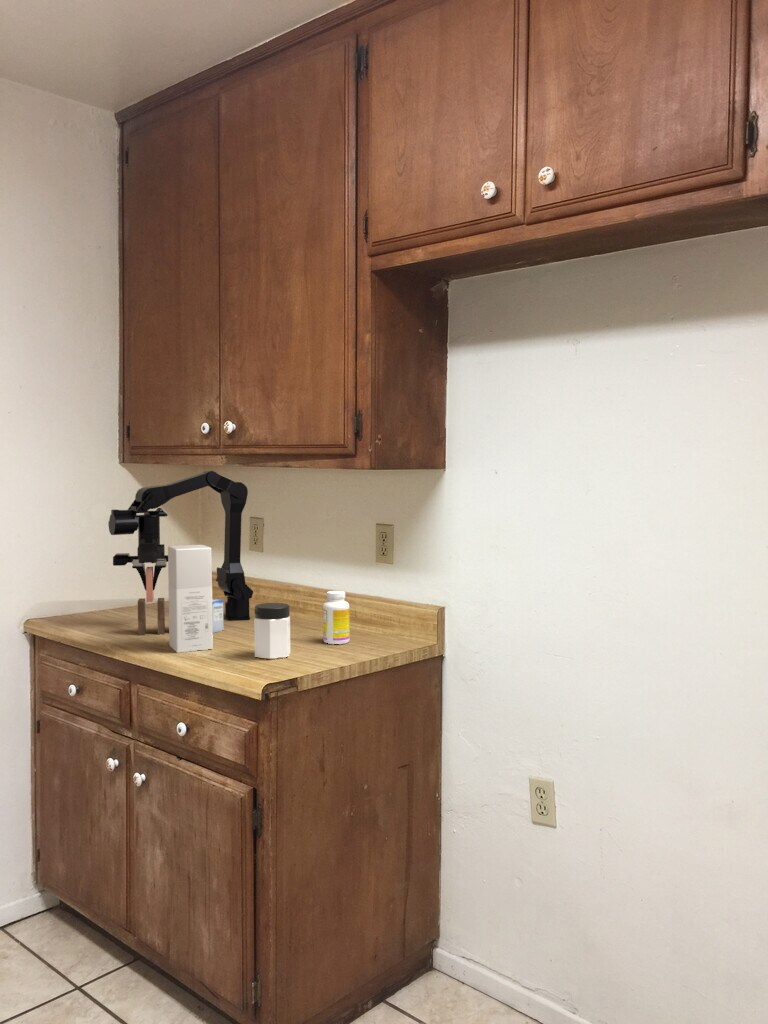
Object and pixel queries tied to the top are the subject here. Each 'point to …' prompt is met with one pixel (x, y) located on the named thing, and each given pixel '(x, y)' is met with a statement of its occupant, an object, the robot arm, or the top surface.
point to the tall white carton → (190, 598)
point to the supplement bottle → (336, 618)
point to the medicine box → (217, 615)
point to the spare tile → (149, 584)
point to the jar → (272, 630)
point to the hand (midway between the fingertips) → (149, 590)
